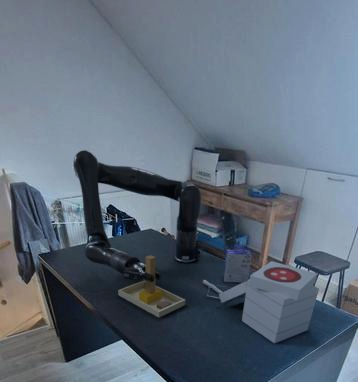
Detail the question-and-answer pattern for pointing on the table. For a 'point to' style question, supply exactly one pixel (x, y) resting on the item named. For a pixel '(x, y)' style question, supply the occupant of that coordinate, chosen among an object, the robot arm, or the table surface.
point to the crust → (163, 304)
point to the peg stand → (150, 283)
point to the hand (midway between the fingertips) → (156, 277)
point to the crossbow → (212, 288)
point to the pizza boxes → (277, 300)
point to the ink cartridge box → (237, 265)
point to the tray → (133, 296)
